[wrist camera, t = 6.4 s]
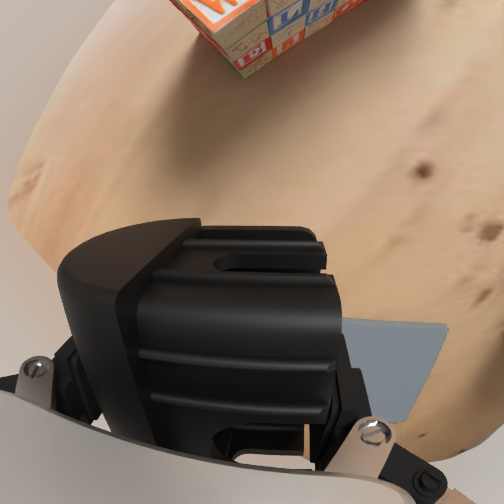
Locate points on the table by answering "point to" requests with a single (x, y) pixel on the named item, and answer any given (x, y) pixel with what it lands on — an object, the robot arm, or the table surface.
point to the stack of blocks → (259, 26)
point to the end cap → (206, 334)
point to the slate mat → (393, 361)
